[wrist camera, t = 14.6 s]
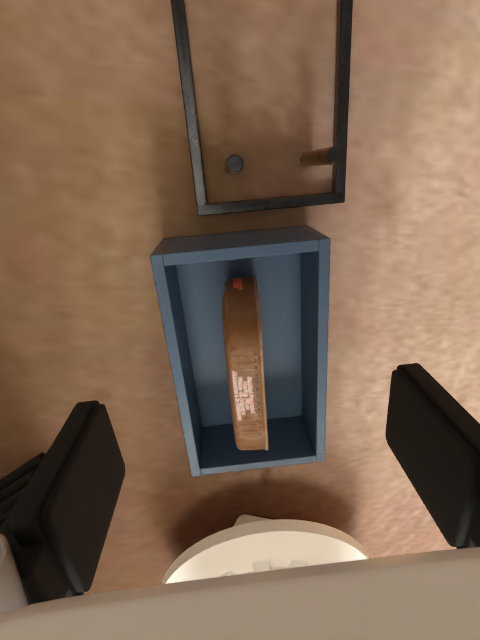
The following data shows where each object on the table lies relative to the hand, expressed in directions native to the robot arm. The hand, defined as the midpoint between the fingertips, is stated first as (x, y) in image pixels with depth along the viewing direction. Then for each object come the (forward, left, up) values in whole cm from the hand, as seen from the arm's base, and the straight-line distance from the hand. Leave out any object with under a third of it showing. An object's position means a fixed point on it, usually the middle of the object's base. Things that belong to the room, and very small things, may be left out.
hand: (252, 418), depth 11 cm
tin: (-1, +7, -19) cm, 21 cm away
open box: (-1, +7, -20) cm, 21 cm away
